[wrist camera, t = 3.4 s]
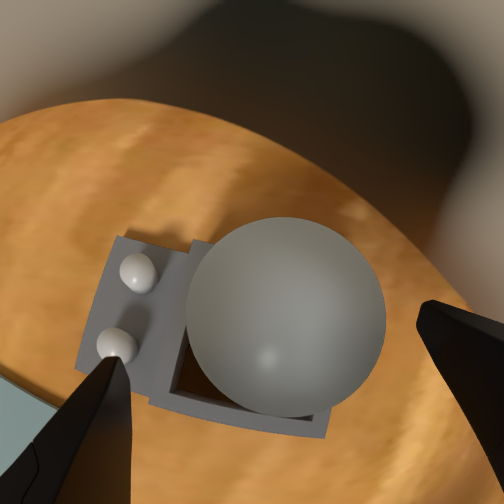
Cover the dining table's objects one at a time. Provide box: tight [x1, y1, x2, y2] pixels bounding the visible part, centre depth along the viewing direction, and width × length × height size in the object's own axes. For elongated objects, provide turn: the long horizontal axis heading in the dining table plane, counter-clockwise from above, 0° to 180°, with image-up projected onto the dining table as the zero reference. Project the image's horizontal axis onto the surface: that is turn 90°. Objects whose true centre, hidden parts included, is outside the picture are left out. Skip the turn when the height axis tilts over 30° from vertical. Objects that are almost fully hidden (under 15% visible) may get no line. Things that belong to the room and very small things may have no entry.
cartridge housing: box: [75, 236, 332, 439], centre depth 15 cm, size 13×8×3 cm, turn 78°
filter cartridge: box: [186, 217, 386, 417], centre depth 12 cm, size 5×5×10 cm
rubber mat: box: [0, 374, 59, 476], centre depth 10 cm, size 14×14×1 cm
